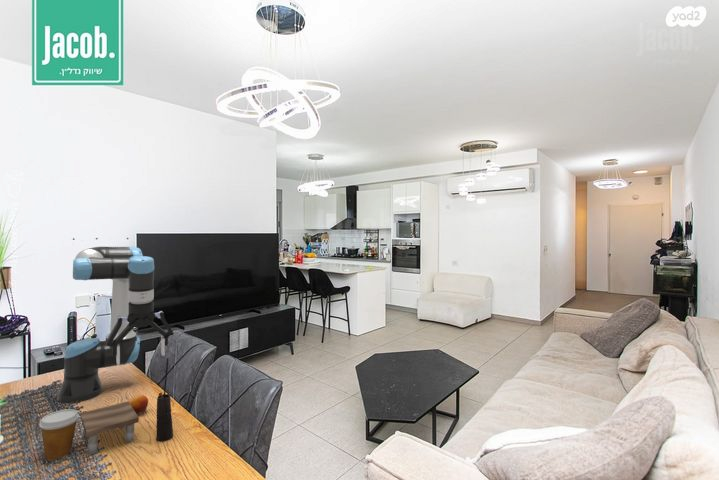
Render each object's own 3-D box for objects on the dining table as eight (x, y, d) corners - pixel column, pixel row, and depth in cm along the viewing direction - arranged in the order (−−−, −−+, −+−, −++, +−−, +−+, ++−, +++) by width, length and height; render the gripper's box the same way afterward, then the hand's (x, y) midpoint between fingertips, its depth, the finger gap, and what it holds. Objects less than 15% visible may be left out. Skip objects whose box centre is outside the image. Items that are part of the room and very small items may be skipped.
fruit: (140, 416, 131) (132, 397, 132) (125, 425, 133) (116, 405, 134) (157, 407, 139) (148, 388, 140) (142, 415, 141) (134, 396, 142)
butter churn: (145, 434, 122) (148, 354, 122) (175, 427, 128) (178, 350, 128) (148, 447, 115) (151, 362, 115) (180, 438, 120) (183, 357, 121)
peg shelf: (79, 436, 120) (80, 413, 120) (127, 422, 129) (128, 401, 130) (85, 457, 108) (86, 432, 108) (137, 441, 118) (138, 417, 118)
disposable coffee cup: (84, 449, 113) (86, 411, 113) (50, 466, 104) (52, 425, 104) (65, 442, 116) (66, 406, 116) (30, 458, 107) (32, 419, 107)
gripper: (97, 309, 111) (98, 372, 113) (183, 299, 127) (182, 354, 129) (96, 302, 116) (96, 362, 119) (178, 294, 132) (177, 347, 135)
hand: (141, 358), depth 124 cm, fingers open, 13 cm apart
